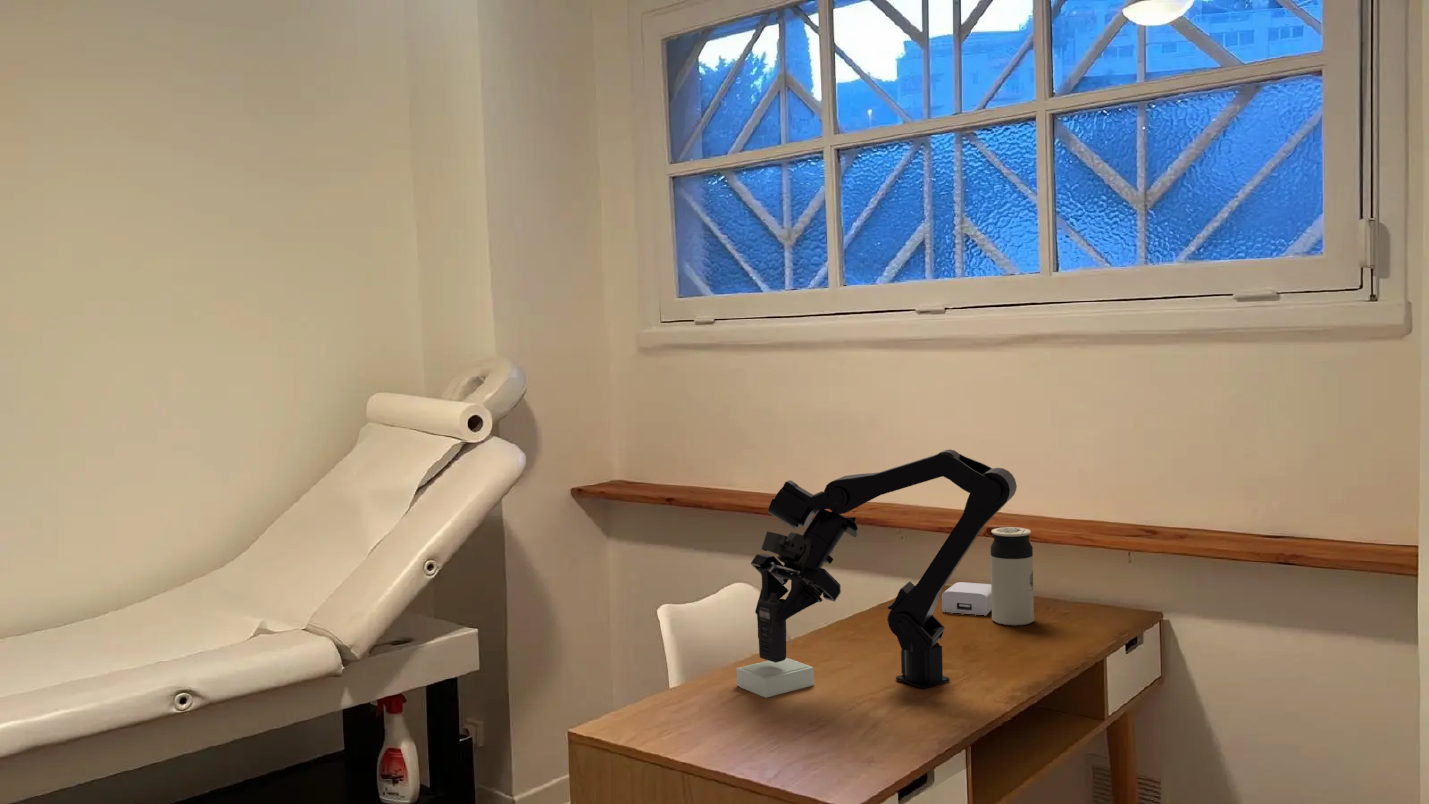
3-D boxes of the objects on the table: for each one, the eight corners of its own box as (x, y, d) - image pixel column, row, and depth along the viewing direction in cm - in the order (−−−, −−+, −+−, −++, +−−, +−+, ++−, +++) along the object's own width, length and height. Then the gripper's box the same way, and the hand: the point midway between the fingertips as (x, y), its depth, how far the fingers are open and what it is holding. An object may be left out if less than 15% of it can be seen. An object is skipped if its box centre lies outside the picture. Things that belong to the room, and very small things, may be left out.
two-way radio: (754, 658, 193) (751, 569, 192) (775, 652, 196) (771, 565, 195) (776, 665, 189) (772, 574, 188) (796, 659, 191) (793, 569, 190)
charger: (1005, 600, 245) (987, 617, 232) (962, 597, 250) (942, 613, 236) (1004, 578, 245) (986, 594, 232) (961, 575, 249) (941, 590, 236)
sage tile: (814, 685, 192) (813, 666, 192) (765, 697, 187) (765, 678, 186) (784, 674, 199) (784, 656, 199) (737, 685, 193) (736, 667, 193)
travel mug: (986, 623, 227) (984, 532, 225) (999, 614, 233) (997, 525, 232) (1026, 628, 222) (1025, 535, 221) (1038, 618, 229) (1037, 528, 228)
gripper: (757, 507, 201) (706, 579, 196) (823, 519, 185) (769, 599, 180) (796, 545, 205) (747, 617, 200) (863, 561, 190) (812, 640, 184)
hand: (767, 617), depth 191 cm, fingers closed on two-way radio, 5 cm apart
